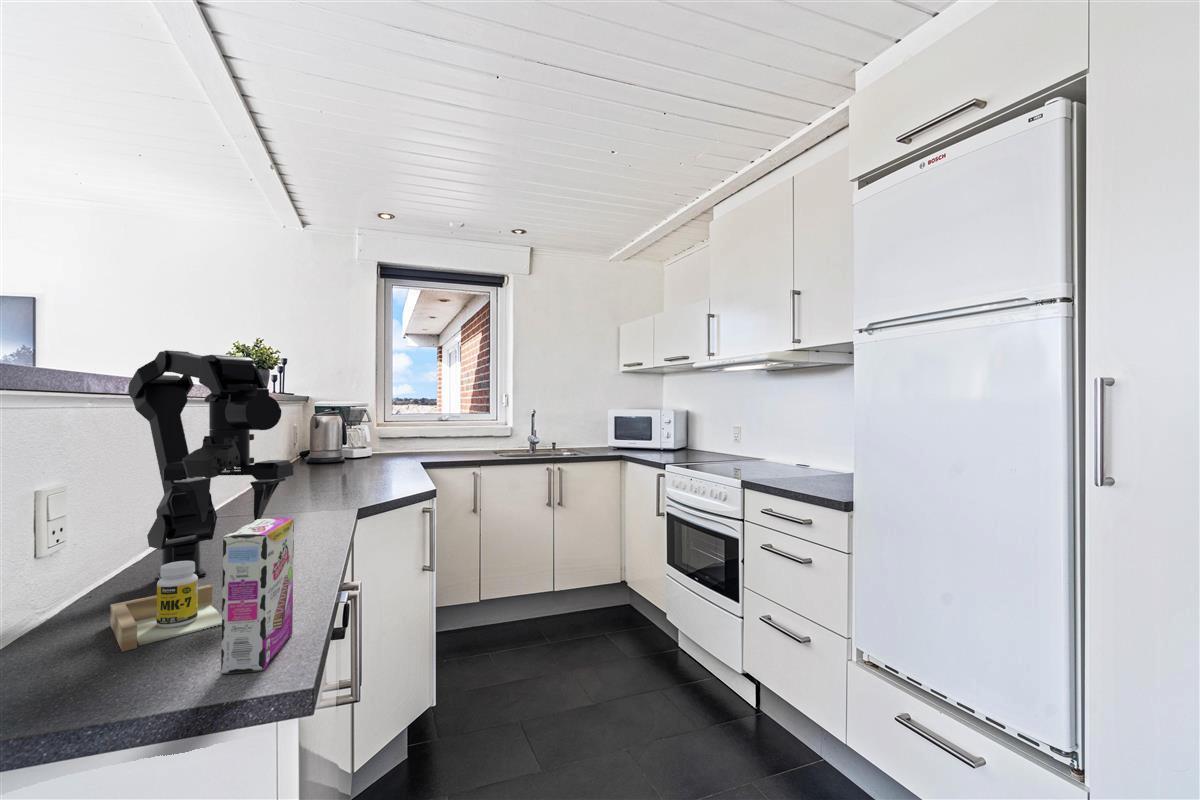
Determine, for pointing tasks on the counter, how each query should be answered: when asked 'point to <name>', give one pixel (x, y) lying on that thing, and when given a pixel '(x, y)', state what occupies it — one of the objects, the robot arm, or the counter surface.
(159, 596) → the supplement bottle
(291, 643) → the counter surface
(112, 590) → the counter surface
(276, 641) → the candy bar box
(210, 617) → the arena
